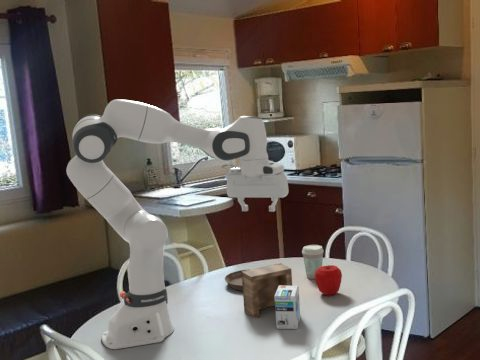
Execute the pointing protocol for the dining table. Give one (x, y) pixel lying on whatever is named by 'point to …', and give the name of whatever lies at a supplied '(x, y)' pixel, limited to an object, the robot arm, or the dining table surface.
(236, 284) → the plant saucer
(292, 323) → the light bulb box
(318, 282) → the apple
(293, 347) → the dining table surface
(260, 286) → the walnut dock
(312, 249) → the coffee cup
